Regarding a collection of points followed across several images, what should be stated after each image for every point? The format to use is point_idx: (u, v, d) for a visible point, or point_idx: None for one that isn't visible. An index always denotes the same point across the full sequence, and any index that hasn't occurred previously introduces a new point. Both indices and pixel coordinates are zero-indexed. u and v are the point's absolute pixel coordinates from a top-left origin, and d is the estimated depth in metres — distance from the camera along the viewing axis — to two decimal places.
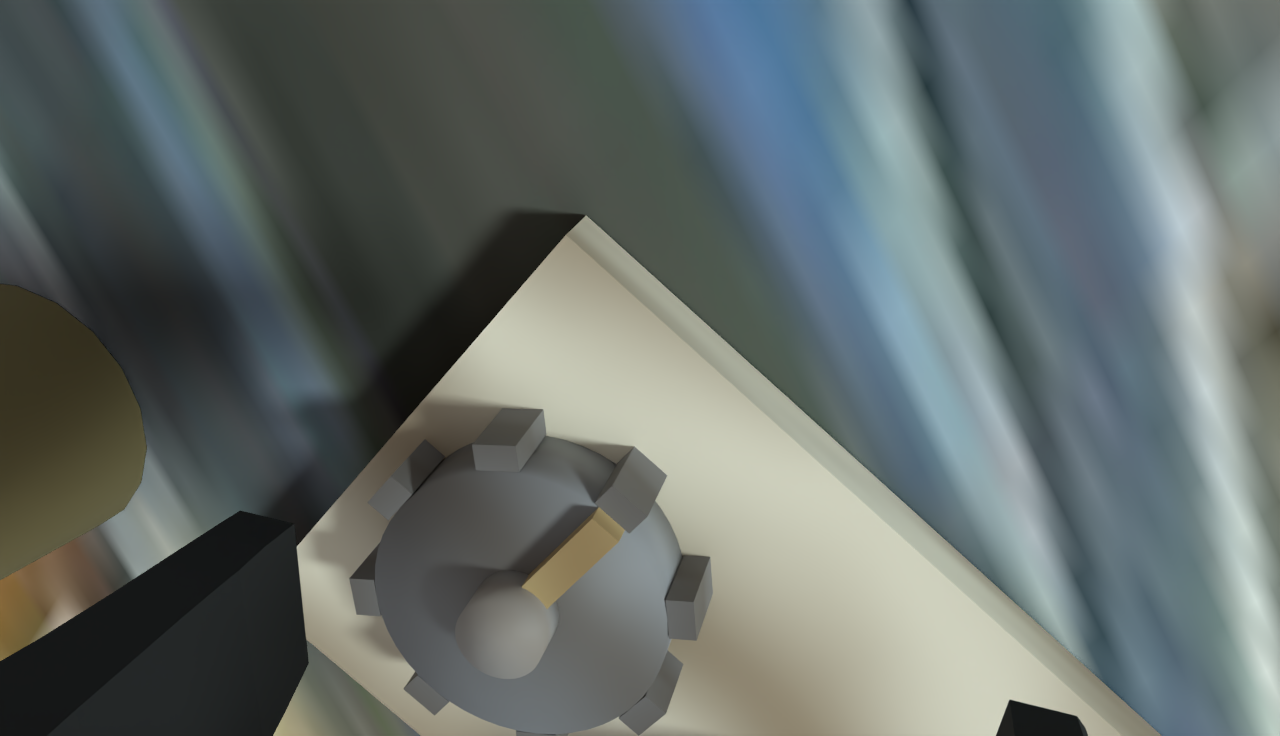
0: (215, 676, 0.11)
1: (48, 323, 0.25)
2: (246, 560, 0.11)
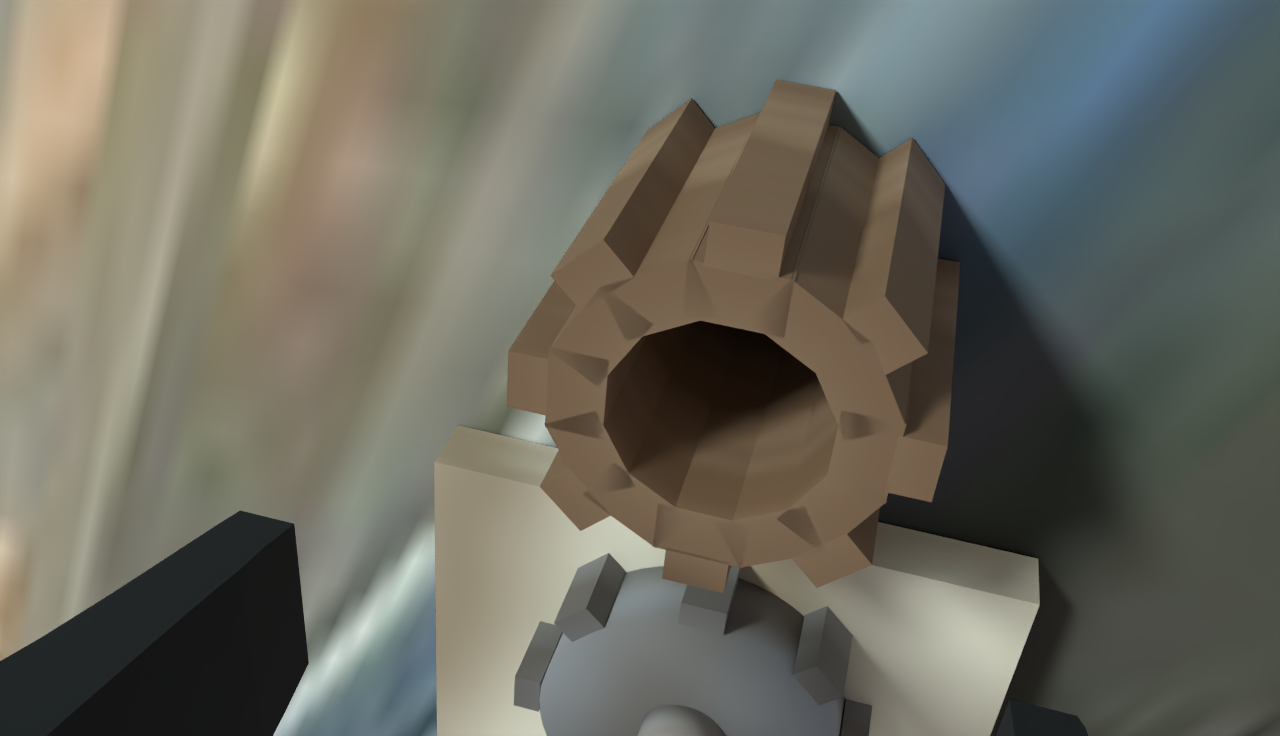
0: (215, 676, 0.11)
1: None
2: (246, 560, 0.11)
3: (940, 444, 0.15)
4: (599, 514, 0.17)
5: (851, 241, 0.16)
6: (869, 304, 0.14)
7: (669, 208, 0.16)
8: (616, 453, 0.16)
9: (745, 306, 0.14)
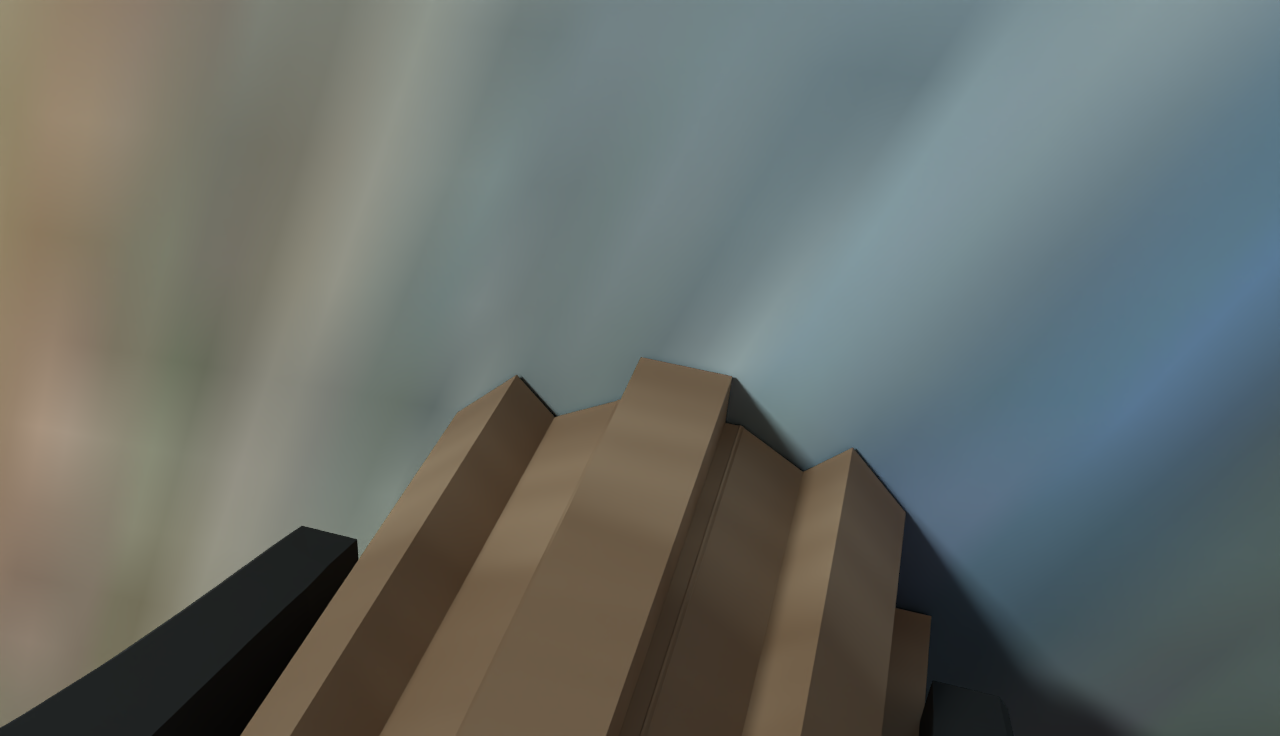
0: None
1: None
2: (312, 577, 0.11)
3: None
4: None
5: (735, 698, 0.09)
6: None
7: (435, 627, 0.10)
8: None
9: None
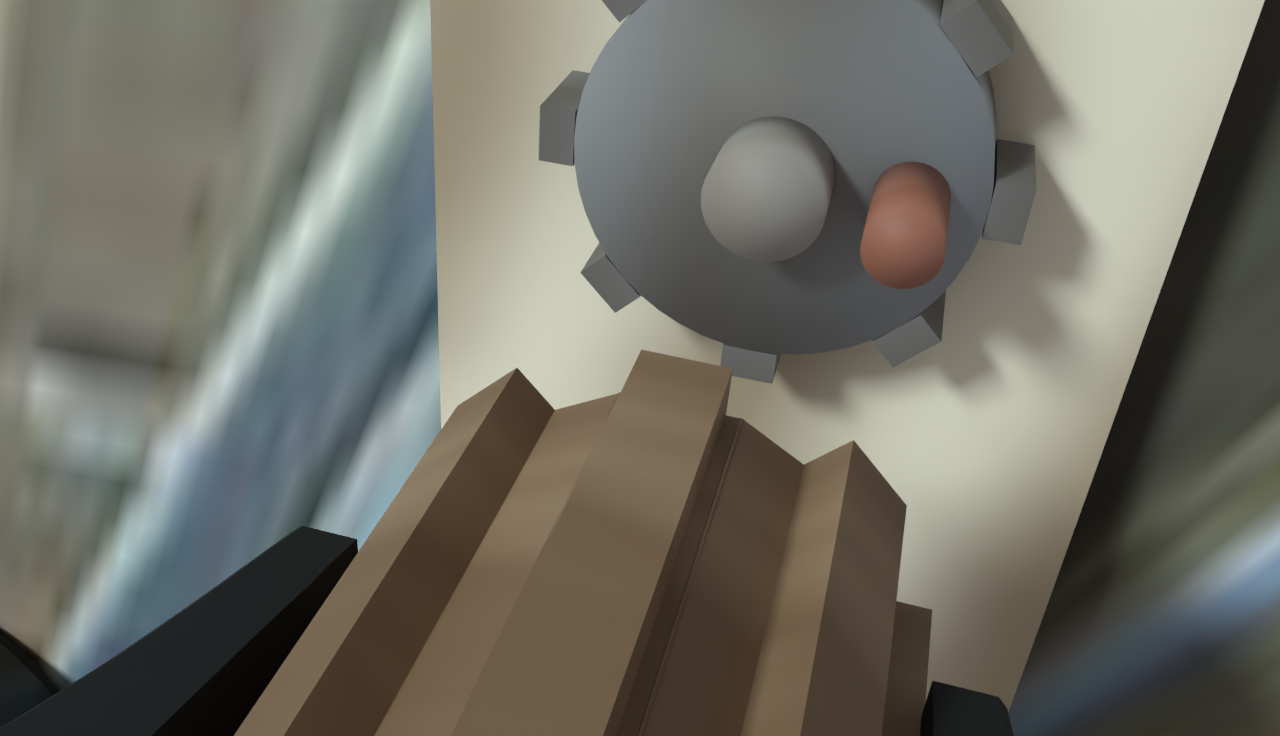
0: None
1: None
2: (312, 577, 0.11)
3: None
4: None
5: (736, 690, 0.09)
6: None
7: (435, 618, 0.10)
8: None
9: None
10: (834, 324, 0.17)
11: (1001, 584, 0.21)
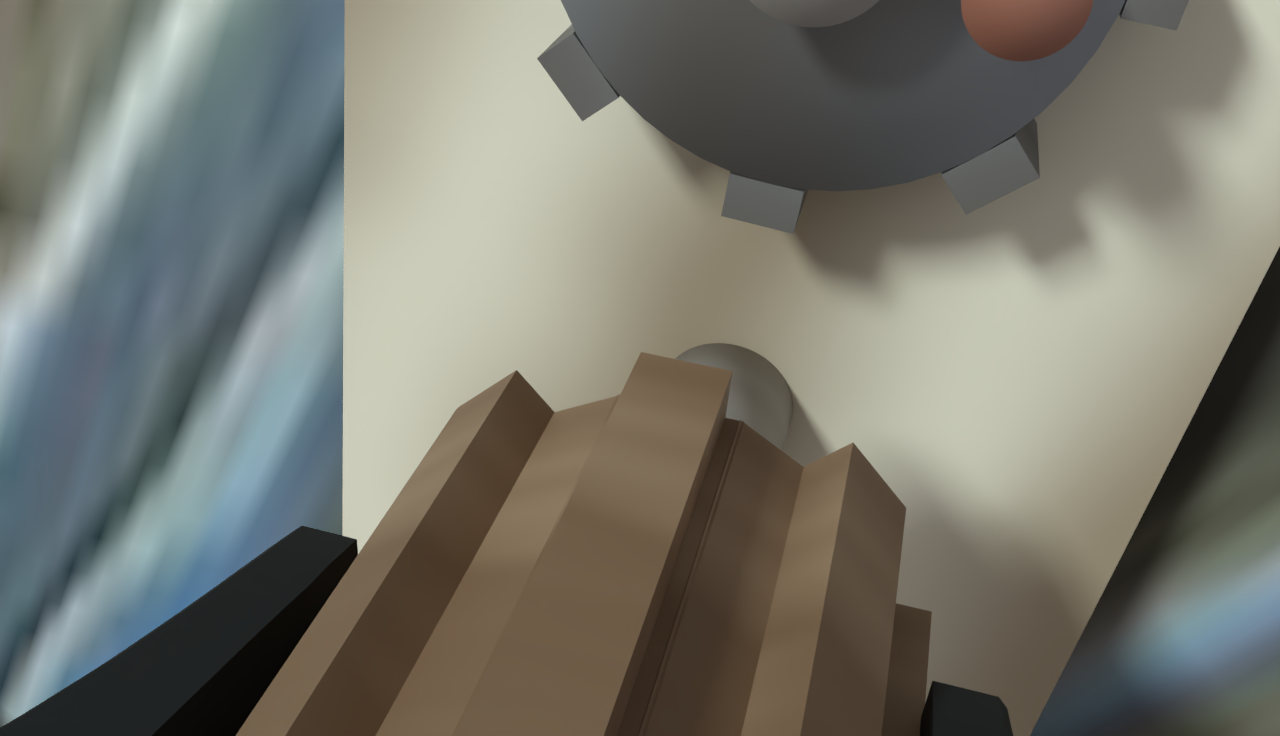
0: None
1: None
2: (313, 577, 0.11)
3: None
4: None
5: (735, 692, 0.09)
6: None
7: (435, 621, 0.10)
8: None
9: None
10: (890, 147, 0.12)
11: (1059, 536, 0.16)
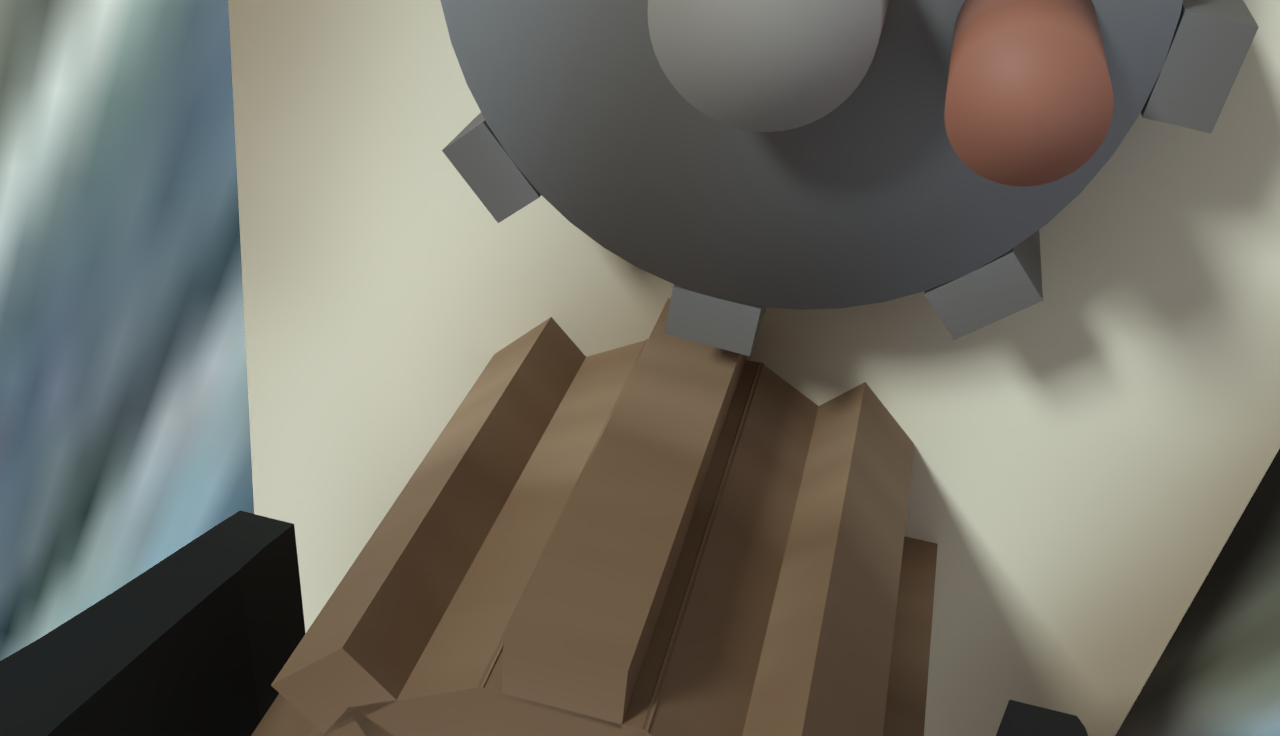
0: (215, 676, 0.11)
1: None
2: (246, 560, 0.11)
3: None
4: None
5: (760, 597, 0.10)
6: None
7: (484, 535, 0.11)
8: None
9: None
10: (862, 261, 0.10)
11: (1064, 676, 0.14)
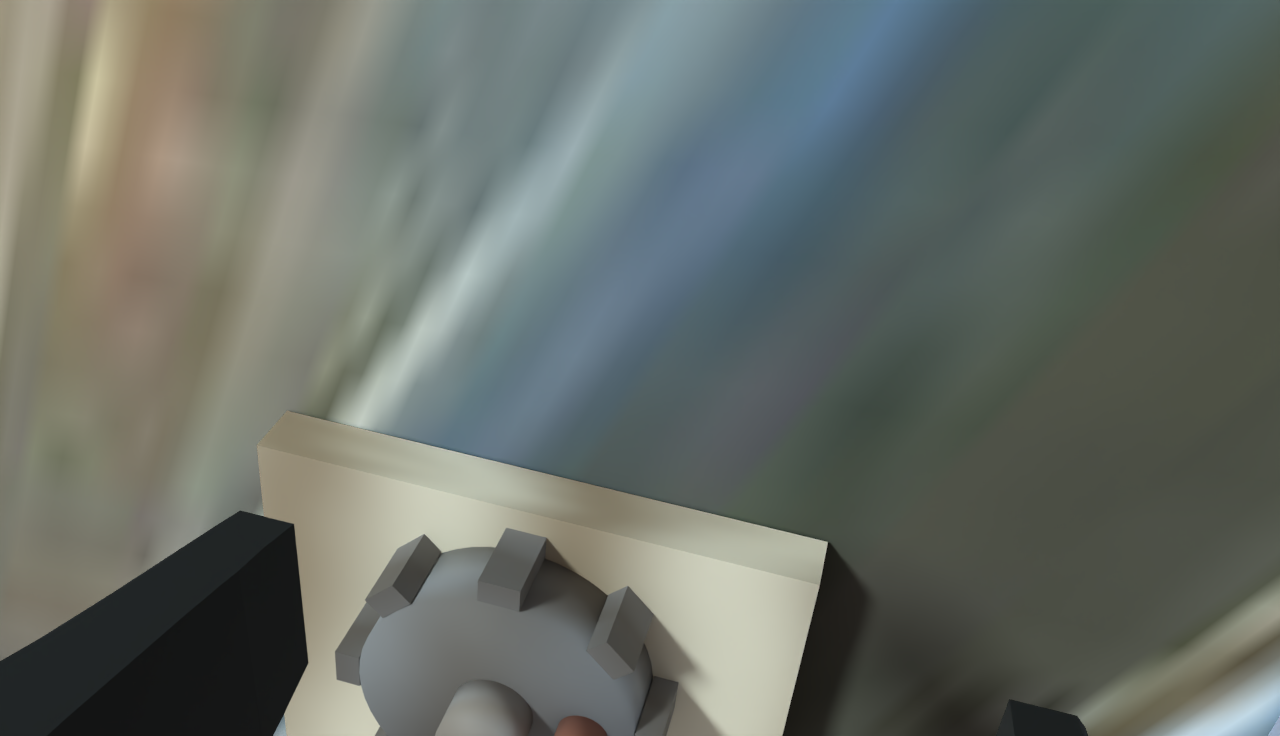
0: (215, 676, 0.11)
1: None
2: (246, 560, 0.11)
3: None
4: None
5: None
6: None
7: None
8: None
9: None
10: None
11: None
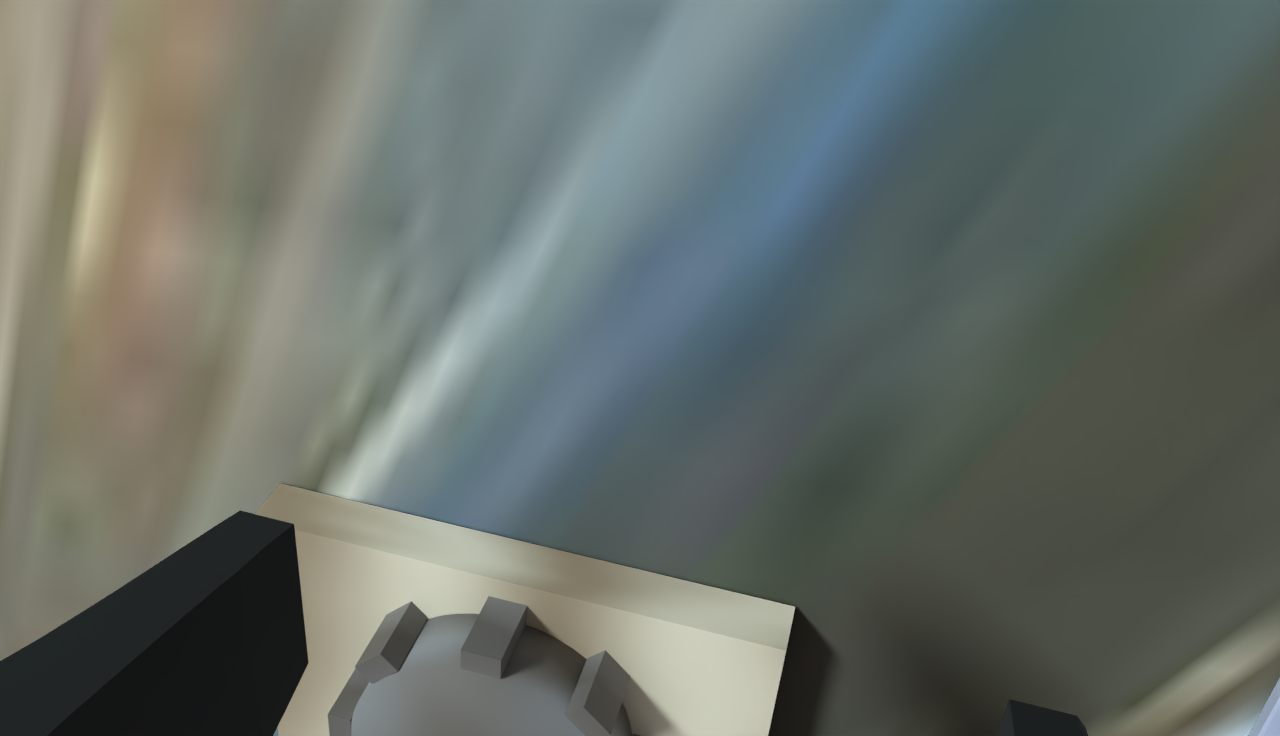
0: (215, 676, 0.11)
1: None
2: (246, 560, 0.11)
3: None
4: None
5: None
6: None
7: None
8: None
9: None
10: None
11: None
